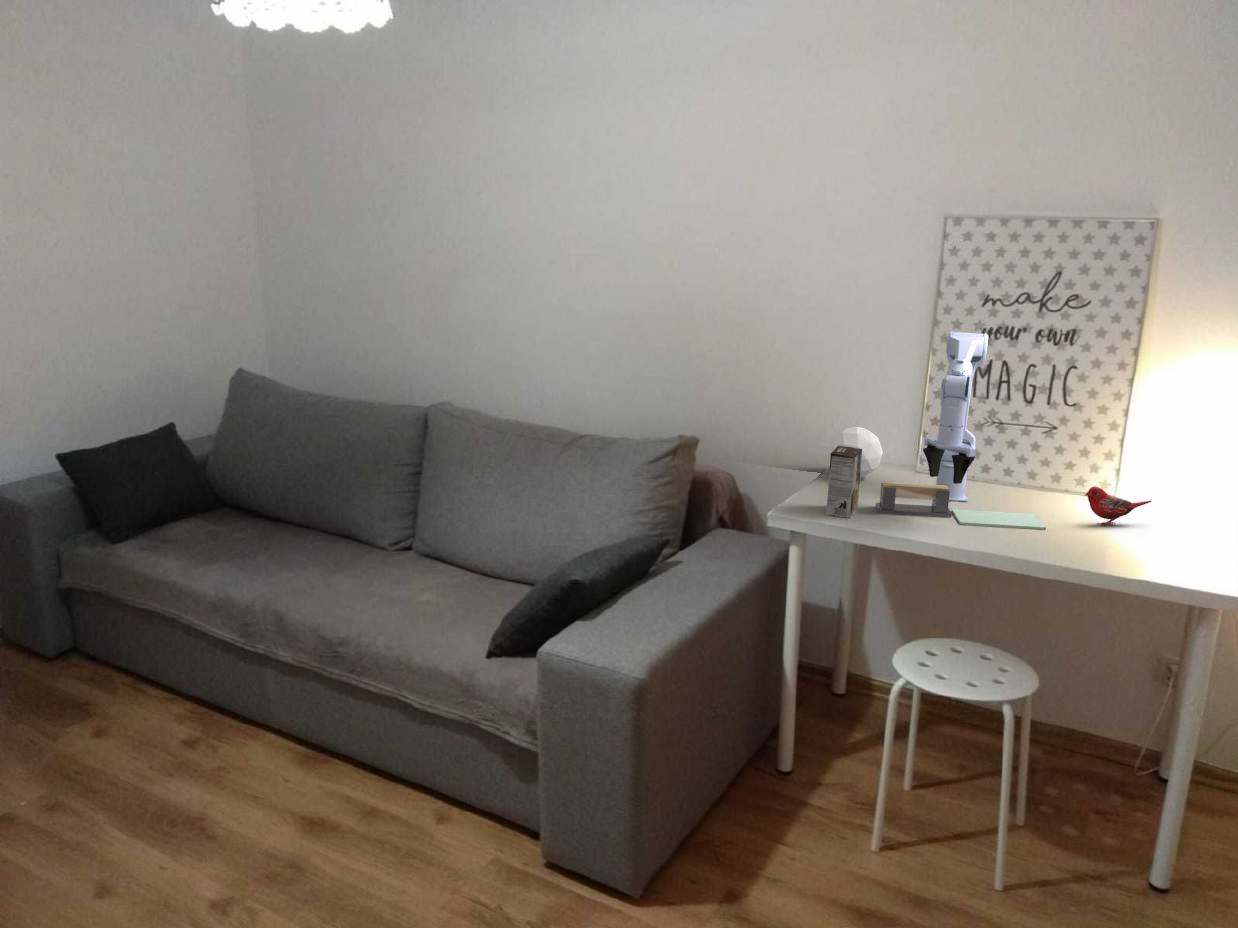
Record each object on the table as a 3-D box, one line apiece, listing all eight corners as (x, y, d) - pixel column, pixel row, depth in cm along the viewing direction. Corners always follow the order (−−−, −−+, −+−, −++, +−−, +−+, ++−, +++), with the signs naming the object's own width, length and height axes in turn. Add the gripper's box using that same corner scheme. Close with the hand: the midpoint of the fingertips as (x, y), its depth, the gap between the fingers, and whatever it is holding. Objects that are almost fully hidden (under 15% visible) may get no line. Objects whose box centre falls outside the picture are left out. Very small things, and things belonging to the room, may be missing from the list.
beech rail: (881, 493, 242) (882, 481, 242) (945, 496, 240) (947, 485, 239) (882, 496, 240) (883, 485, 239) (947, 500, 237) (949, 488, 237)
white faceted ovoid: (893, 464, 260) (883, 476, 280) (874, 413, 263) (866, 429, 283) (842, 480, 261) (836, 491, 281) (824, 430, 265) (819, 444, 284)
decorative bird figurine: (1076, 523, 234) (1082, 484, 231) (1144, 522, 235) (1150, 484, 233) (1083, 527, 231) (1089, 488, 228) (1151, 526, 232) (1158, 487, 230)
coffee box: (833, 505, 245) (837, 445, 241) (858, 509, 242) (863, 448, 238) (824, 515, 237) (829, 452, 233) (850, 518, 234) (856, 455, 230)
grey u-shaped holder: (875, 506, 245) (877, 482, 243) (947, 510, 242) (949, 486, 241) (877, 513, 239) (879, 488, 238) (951, 517, 237) (954, 492, 235)
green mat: (951, 511, 242) (951, 509, 242) (1033, 516, 239) (1033, 513, 239) (959, 524, 231) (960, 522, 231) (1045, 529, 228) (1046, 527, 228)
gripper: (917, 421, 233) (911, 474, 236) (962, 431, 220) (956, 487, 223) (938, 419, 236) (932, 472, 239) (984, 429, 223) (977, 485, 226)
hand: (945, 479), depth 231 cm, fingers open, 7 cm apart
